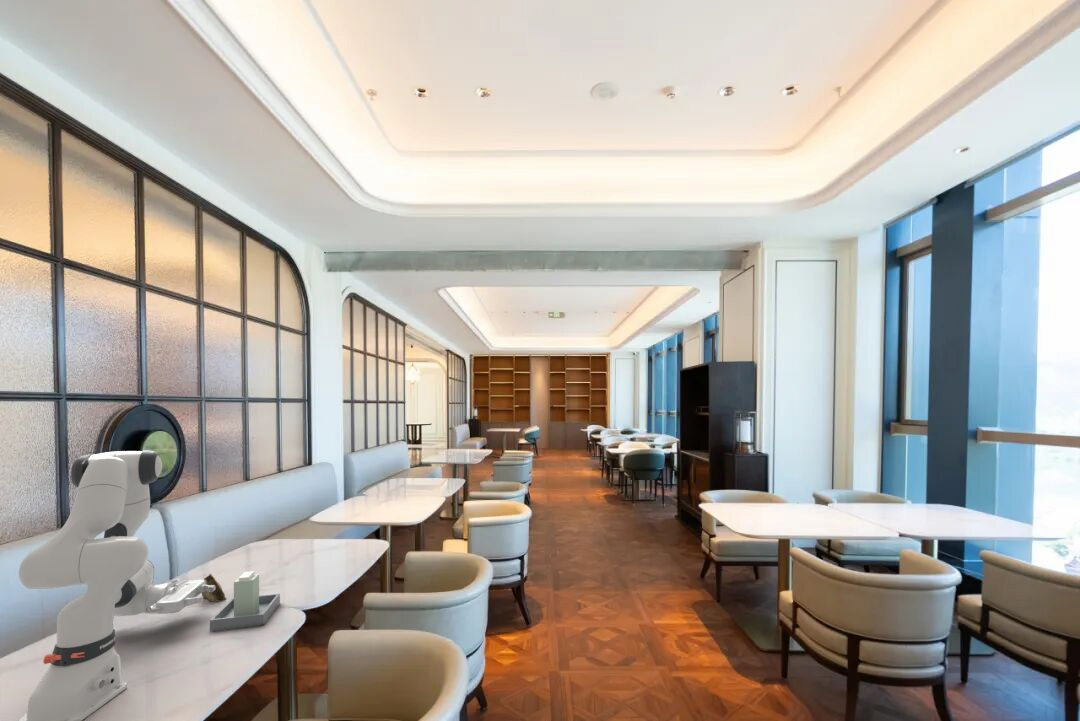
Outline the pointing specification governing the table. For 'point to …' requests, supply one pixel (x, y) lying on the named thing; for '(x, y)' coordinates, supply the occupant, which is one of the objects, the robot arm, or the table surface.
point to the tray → (228, 621)
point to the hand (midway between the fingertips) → (208, 593)
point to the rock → (217, 593)
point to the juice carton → (246, 594)
